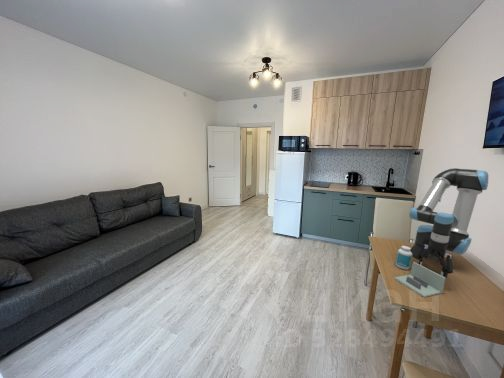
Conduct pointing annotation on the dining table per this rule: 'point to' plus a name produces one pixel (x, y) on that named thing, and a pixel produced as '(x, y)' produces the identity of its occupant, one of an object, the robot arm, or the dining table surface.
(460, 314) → the dining table surface
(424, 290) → the pale green l-shaped piece
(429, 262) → the door panel
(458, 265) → the dining table surface
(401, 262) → the pill bottle
